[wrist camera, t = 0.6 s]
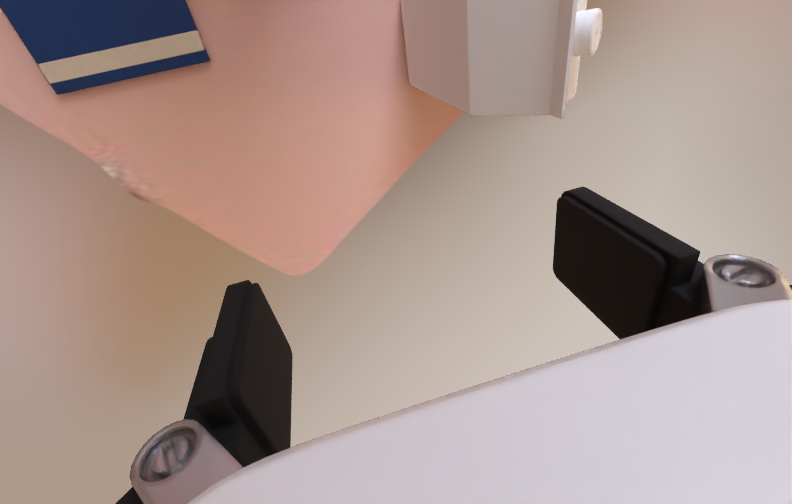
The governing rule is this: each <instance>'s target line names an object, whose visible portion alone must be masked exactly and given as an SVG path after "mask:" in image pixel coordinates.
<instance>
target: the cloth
mask: <svg viewBox="0 0 792 504" xmlns="http://www.w3.org/2000/svg"><path fill="white" fill-rule="evenodd" d="M0 7H1V8H2V10H3V12H4V13H5V15H6V16H7V18H8V19H9V21H10V22H11V24H12V25H13V27H14V29H15V30H16V32H17V33H18V35H19V36H20V38H21V39H22V41H23V42H24V44H25V46H26V47H27V49H28V50H29V52H30V53H31V55H32V56H33V58H34V59H35V61H36V63H37V64H38V66H39V68H40V69H41V71H42V72H43V74H44V75H45V77H46V79H47V80H48V82H49V83H50V84H51V86H52V87H53V89H54V90H55V92H56V94H63V93H67V92H72V91H76V90H81V89H85V88H90V87H94V86H99V85H103V84H108V83H112V82H117V81H121V80H126V79H130V78H135V77H139V76H144V75H148V74H153V73H157V72H162V71H166V70H171V69H175V68H180V67H184V66H189V65H193V64H198V63H202V62H207V61H210V59H209V57H208V54H207V52H206V49H205V47H204V45H203V42H202V40H201V37H200V35H199V32H198V30H197V28H196V25H195V23H194V20H193V18H192V15H191V13H190V11H189V8H188V6H187V3H186V1H185V0H0Z"/></svg>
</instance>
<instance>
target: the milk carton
mask: <svg viewBox="0 0 792 504" xmlns="http://www.w3.org/2000/svg"><path fill="white" fill-rule="evenodd" d="M400 2H401V12H402V21H403V30H404V39H405V48H406V58H407V67H408V76H409V83H410V85H411V86H413V87H415V88H417V89H419V90H421V91H423V92H425V93H427V94H429V95H431V96H433V97H435V98H437V99H439V100H441V101H443V102H445V103H447V104H449V105H451V106H453V107H455V108H457V109H459V110H461V111H463V112H465V113H467V114H468V115H470V116H517V115H518V116H519V115H552V116H555V117H558V118H561V119H562V118H564V117H565V114H566V104H567V102H568V101H570V99H572V98H573V97H574V96H575V94H576V88H577V81H578V72H579V64H580V56H591V55H593V54H594V53H595V51H596V49H597V47H598V44H599V41H600V36H601V30H602V11H601V9H599V8H596V9H590V10H586V5H587V0H400Z"/></svg>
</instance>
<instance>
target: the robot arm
mask: <svg viewBox="0 0 792 504" xmlns="http://www.w3.org/2000/svg"><path fill="white" fill-rule="evenodd" d="M699 254H700V251H698V250H696V249H695V248H693V247H691V246H689V245H688V244H686V243H684V242H682V241H680V240H679V239H677V238H675V237H673V236H671V235H670V234H668V233H666V232H664V231H662V230H660V229H659V228H657V227H655V226H654V225H652V224H650V223H648V222H646V221H645V220H643V219H641V218H639V217H638V216H636V215H634V214H632V213H630V212H628V211H627V210H625V209H623V208H621V207H620V206H618V205H616V204H614V203H613V202H611V201H609V200H607V199H605V198H604V197H602V196H600V195H598V194H596V193H595V192H593V191H591V190H589V189H588V188H586V187H580V188H576V189H572V190H569V191H565V192H564V193H563V194H562V196H561V198H559V199H558V201H557V212H556V228H555V244H554V259H553V271H554V273H555V275H556V277H557V278H558V279H559V280H560V281H561V282H562V283H563V284H564V285H565V286H566V287H567V288H568V289H569V290H570V291H571V292H572V293H573V294H574V295H575V296H576V297H577V298H578V299H579V300H580V301H581V302H582V303H583V304H584V305H585V306H586V307H587V308H588V309H589V310H590V311H591V312H593V313H594V314H595V315H596V316H597V317H598V318H599V319H600V320H601V321H602V322H603V323H604V324H605V325H606V326H607V327H608V328H609V329H610V330H611V331H612V332H613V333H614V334H615V335H616V336H617V337H618V338H619V339H620V340H617V341H614V342H611V343H608V344H605V345H602V346H598V347H595V348H593V349H589V350H586V351H582V352H579V353H576V354H573V355H570V356H567V357H564V358H560V359H557V360H554V361H551V362H548V363H545V364H541V365H539V366H535V367H532V368H529V369H526V370H523V371H520V372H516V373H513V374H510V375H507V376H505V377H501V378H498V379H495V380H492V381H489V382H485V383H482V384H479V385H476V386H473V387H470V388H467V389H464V390H460V391H457V392H454V393H451V394H448V395H445V396H442V397H439V398H436V399H433V400H430V401H427V402H424V403H421V404H418V405H414V406H412V407H409V408H406V409H402V410H399V411H396V412H393V413H390V414H387V415H384V416H381V417H378V418H375V419H372V420H369V421H366V422H363V423H360V424H357V425H354V426H351V427H348V428H345V429H342V430H339V431H336V432H333V433H331V434H327V435H325V436H322V437H319V438H316V439H313V440H311V441H307V442H304V443H301V444H298V445H296V446H293V447H291V448H290V436H291V394H292V393H291V392H292V352H291V348H290V346H289V343H288V342H287V339H286V337H285V335H284V333H283V332H282V329H281V327H280V325H279V323H278V322H277V319H276V318H275V315H274V314H273V312H272V310H271V308H270V306H269V304H268V302H267V300H266V298H265V296H264V294H263V292H262V290H261V288H260V286H259V284H258V283H254V284H252V283H251V282H250V281H249V280H246V281H243V282H239V283H236V284H232V285H229V286H228V287H227V289H226V292H225V296H224V299H223V303H222V306H221V310H220V313H219V317H218V320H217V325H216V328H215V331H214V335H213V337H211V338H210V339H208V341H207V343H206V345H205V349H204V352H203V355H202V359H201V362H200V366H199V369H198V373H197V376H196V379H195V382H194V386H193V389H192V392H191V396H190V399H189V403H188V406H187V409H186V413H185V416H184V419H183V420H181V421H177V422H174V423H172V424H170V425H168V426H166V427H164V428H163V429H161V430H160V431H158V432H157V433H156V434H154V435H153V436H152V437H151V438H150V439H149V440H148V441H147V442H146V443H145V444H144V445H143V447H142V448H141V450H140V451H139V452H138V454H137V455H136V457H135V459H134V461H133V463H132V466H131V471H130V480H131V484H132V486H133V487H132V488H131V489H130V490H129V491H128V492H127V493H126V494H125V495H124V496H123V497H122V498H121V499H120V500H119V501H118V502H117V503H116V504H792V285H789V284H788V282H787V280H786V278H785V276H784V275H783V273H782V272H781V271H780V270H779V269H777V268H776V267H774V266H773V265H771V264H769V263H767V262H764V261H762V260H759V259H755V258H752V257H748V256H742V255H728V254H726V255H718V256H714V257H712V258H709V259H708V260H707V261H706V262H705V263H704V264H702V263H701V262H699V261H698V257H699Z"/></svg>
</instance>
